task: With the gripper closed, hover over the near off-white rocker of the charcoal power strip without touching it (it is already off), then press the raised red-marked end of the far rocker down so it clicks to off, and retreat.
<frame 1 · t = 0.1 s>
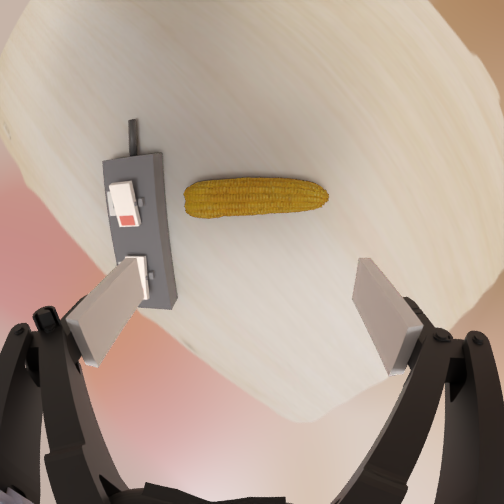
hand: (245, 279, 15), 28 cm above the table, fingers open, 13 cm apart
food: (255, 192, 42), on the table
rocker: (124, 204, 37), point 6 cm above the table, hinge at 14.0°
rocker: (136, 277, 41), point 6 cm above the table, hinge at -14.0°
power strip: (144, 231, 44), on the table
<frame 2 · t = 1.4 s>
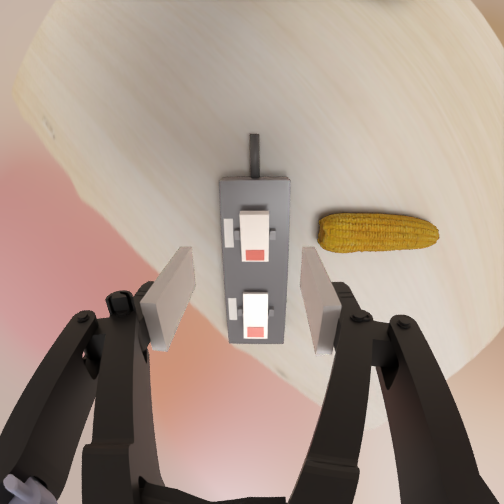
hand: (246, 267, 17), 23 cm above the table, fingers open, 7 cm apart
food: (376, 226, 39), on the table
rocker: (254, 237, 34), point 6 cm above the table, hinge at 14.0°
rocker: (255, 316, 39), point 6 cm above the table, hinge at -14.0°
power strip: (256, 262, 42), on the table
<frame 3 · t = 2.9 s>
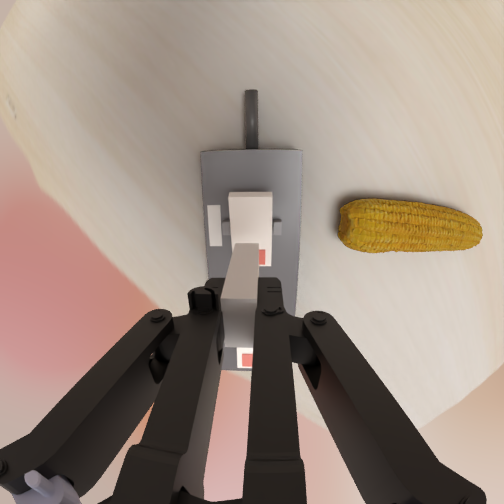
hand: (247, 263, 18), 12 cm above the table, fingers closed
food: (410, 219, 29), on the table
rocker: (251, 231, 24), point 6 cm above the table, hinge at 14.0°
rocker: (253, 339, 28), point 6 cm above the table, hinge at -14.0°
power strip: (254, 266, 31), on the table
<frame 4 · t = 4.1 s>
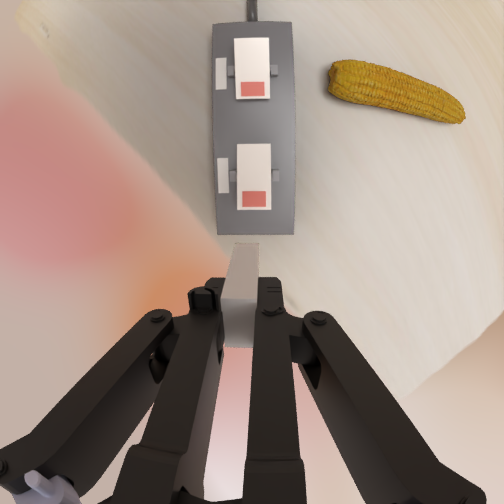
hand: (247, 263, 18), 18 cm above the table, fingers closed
food: (395, 95, 28), on the table
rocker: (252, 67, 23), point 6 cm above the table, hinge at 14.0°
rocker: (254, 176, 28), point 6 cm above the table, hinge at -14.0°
power strip: (254, 124, 31), on the table
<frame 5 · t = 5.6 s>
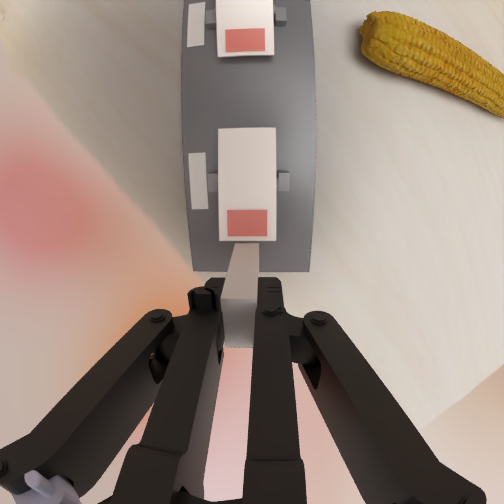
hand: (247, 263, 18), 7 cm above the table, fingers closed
food: (444, 74, 17), on the table
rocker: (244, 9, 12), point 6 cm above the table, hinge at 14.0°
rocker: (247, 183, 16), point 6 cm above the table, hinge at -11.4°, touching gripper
power strip: (250, 101, 19), on the table
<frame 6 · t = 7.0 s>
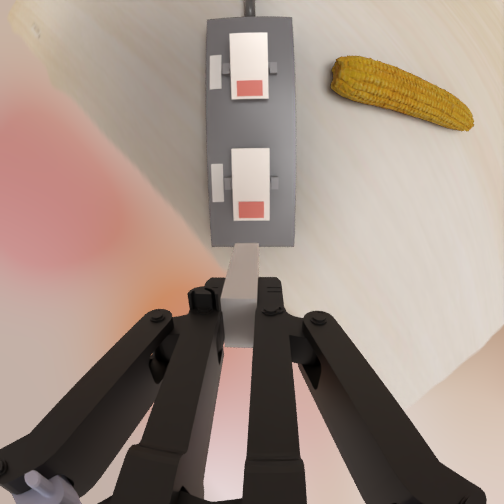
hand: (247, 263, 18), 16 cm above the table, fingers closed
food: (401, 97, 26), on the table
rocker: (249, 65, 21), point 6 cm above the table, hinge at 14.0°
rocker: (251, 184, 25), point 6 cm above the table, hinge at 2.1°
power strip: (252, 127, 29), on the table
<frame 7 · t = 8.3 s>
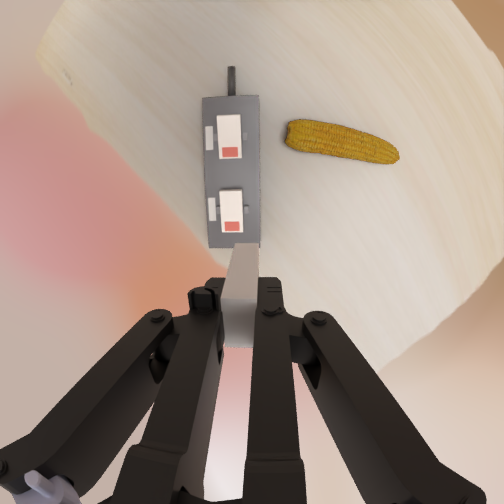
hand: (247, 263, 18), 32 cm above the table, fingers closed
food: (340, 142, 44), on the table
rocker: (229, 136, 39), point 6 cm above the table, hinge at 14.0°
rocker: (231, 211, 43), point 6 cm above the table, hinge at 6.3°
power strip: (234, 171, 47), on the table
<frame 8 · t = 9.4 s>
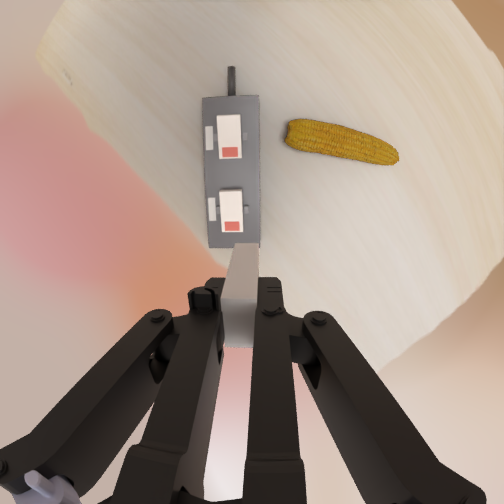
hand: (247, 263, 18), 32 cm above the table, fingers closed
food: (340, 142, 44), on the table
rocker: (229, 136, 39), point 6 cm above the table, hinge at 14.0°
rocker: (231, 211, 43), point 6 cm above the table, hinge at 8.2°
power strip: (234, 171, 47), on the table
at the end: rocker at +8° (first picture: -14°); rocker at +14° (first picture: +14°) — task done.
